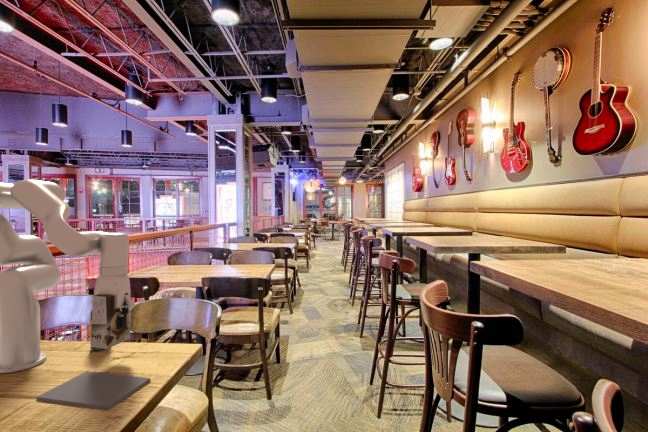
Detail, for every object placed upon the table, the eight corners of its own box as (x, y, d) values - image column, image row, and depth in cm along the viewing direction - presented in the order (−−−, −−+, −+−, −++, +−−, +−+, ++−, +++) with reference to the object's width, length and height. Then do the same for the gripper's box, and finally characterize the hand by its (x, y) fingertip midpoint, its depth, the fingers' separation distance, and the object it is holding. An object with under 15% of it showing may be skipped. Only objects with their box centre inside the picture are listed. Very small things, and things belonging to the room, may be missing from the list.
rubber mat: (36, 400, 82) (36, 396, 82) (87, 373, 96) (87, 371, 96) (108, 409, 78) (108, 406, 78) (150, 380, 91) (150, 378, 91)
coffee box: (107, 349, 97) (109, 296, 97) (89, 347, 98) (91, 295, 98) (131, 338, 106) (132, 290, 106) (114, 336, 107) (116, 288, 107)
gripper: (80, 271, 100) (78, 328, 100) (127, 275, 97) (125, 334, 97) (101, 267, 108) (99, 320, 108) (146, 271, 104) (143, 325, 104)
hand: (111, 326), depth 102 cm, fingers closed on coffee box, 6 cm apart
